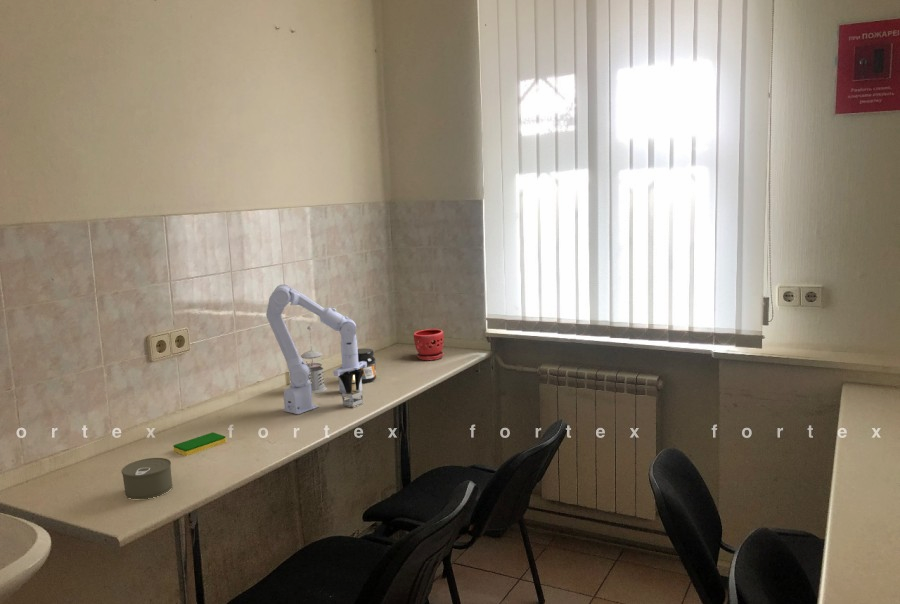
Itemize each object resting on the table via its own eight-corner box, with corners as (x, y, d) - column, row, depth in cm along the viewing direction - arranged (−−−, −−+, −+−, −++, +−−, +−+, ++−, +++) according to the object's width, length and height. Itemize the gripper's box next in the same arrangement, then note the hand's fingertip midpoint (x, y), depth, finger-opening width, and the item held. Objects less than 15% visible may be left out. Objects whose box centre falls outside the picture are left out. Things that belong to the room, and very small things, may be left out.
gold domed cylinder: (352, 398, 258) (351, 376, 256) (346, 397, 260) (344, 375, 258) (358, 396, 260) (357, 374, 259) (352, 394, 262) (351, 373, 261)
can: (179, 480, 199) (177, 456, 198) (164, 499, 188) (161, 474, 186) (135, 482, 199) (132, 458, 198) (116, 502, 187) (113, 476, 186)
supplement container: (372, 384, 286) (370, 354, 284) (346, 383, 288) (344, 354, 286) (379, 376, 296) (377, 347, 294) (354, 376, 298) (352, 347, 296)
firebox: (353, 407, 257) (352, 395, 256) (343, 405, 260) (342, 393, 259) (363, 403, 261) (362, 391, 260) (353, 401, 264) (352, 389, 263)
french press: (330, 386, 286) (325, 323, 282) (322, 394, 274) (317, 329, 270) (305, 386, 287) (300, 323, 283) (296, 395, 275) (291, 329, 271)
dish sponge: (173, 452, 222) (172, 445, 221) (213, 439, 232) (213, 431, 232) (186, 457, 217) (185, 449, 217) (226, 443, 228) (226, 436, 227)
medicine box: (362, 389, 279) (361, 367, 277) (359, 393, 274) (358, 370, 273) (342, 390, 279) (340, 368, 278) (339, 393, 275) (337, 371, 274)
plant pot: (432, 353, 332) (430, 327, 330) (450, 357, 322) (449, 331, 320) (409, 358, 324) (407, 332, 322) (427, 363, 314) (425, 336, 312)
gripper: (342, 359, 249) (345, 398, 251) (372, 350, 260) (374, 387, 263) (328, 357, 253) (331, 395, 256) (357, 348, 265) (360, 384, 267)
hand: (352, 391), depth 259 cm, fingers closed on gold domed cylinder, 3 cm apart
